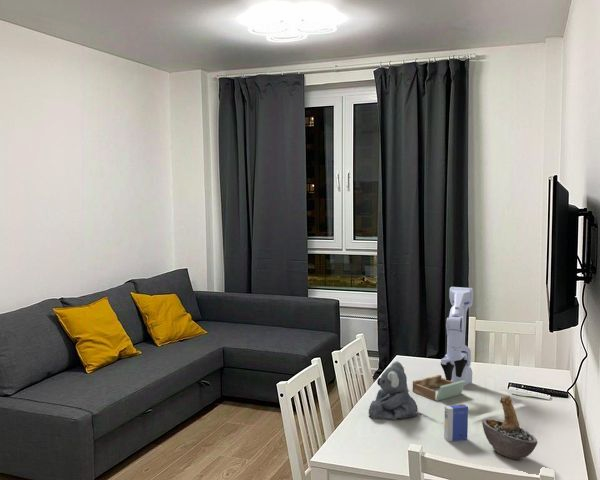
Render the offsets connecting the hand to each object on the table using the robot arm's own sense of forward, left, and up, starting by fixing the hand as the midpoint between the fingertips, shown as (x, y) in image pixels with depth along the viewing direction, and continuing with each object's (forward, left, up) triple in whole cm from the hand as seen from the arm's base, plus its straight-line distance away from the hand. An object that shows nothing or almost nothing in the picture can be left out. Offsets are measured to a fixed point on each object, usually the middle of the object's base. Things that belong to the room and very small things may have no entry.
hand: (453, 378), depth 244 cm
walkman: (+27, +26, -10) cm, 39 cm away
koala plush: (+29, -4, -10) cm, 31 cm away
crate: (0, -9, -10) cm, 14 cm away
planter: (+22, +44, -10) cm, 50 cm away
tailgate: (0, -3, -8) cm, 9 cm away
